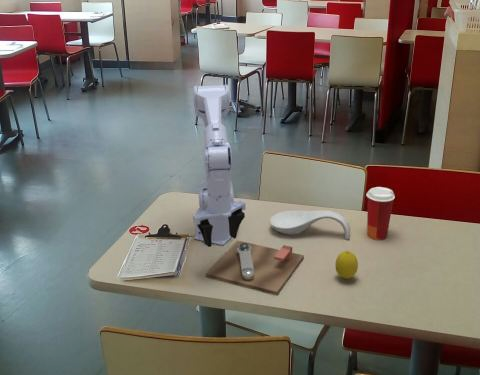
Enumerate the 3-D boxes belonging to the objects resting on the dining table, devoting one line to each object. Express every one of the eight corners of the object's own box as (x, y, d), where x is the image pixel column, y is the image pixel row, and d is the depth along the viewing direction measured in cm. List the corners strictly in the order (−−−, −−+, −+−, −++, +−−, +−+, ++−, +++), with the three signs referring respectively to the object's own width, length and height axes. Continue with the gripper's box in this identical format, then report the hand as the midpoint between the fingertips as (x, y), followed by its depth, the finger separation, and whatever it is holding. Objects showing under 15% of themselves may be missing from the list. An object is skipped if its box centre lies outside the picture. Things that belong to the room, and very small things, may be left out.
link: (236, 249, 150) (236, 241, 149) (250, 248, 150) (250, 241, 150) (240, 280, 136) (240, 272, 135) (256, 279, 136) (256, 271, 135)
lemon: (356, 285, 136) (359, 258, 132) (334, 283, 137) (335, 255, 133) (356, 273, 141) (359, 246, 137) (335, 271, 142) (336, 244, 138)
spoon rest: (265, 237, 160) (266, 215, 157) (274, 219, 170) (274, 198, 167) (347, 246, 154) (349, 224, 151) (351, 227, 164) (352, 206, 162)
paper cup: (391, 231, 161) (396, 188, 156) (389, 243, 155) (394, 198, 149) (364, 227, 164) (368, 184, 158) (361, 239, 157) (365, 195, 152)
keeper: (274, 267, 142) (274, 256, 141) (283, 255, 148) (283, 245, 146) (282, 269, 141) (283, 258, 140) (292, 257, 147) (292, 247, 145)
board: (205, 276, 140) (205, 273, 140) (237, 243, 156) (237, 240, 156) (277, 295, 132) (277, 291, 132) (303, 258, 148) (303, 255, 148)
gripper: (202, 205, 128) (204, 256, 134) (252, 191, 136) (252, 239, 141) (187, 195, 133) (190, 244, 139) (236, 182, 141) (237, 228, 146)
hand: (220, 241), depth 140 cm, fingers open, 7 cm apart
